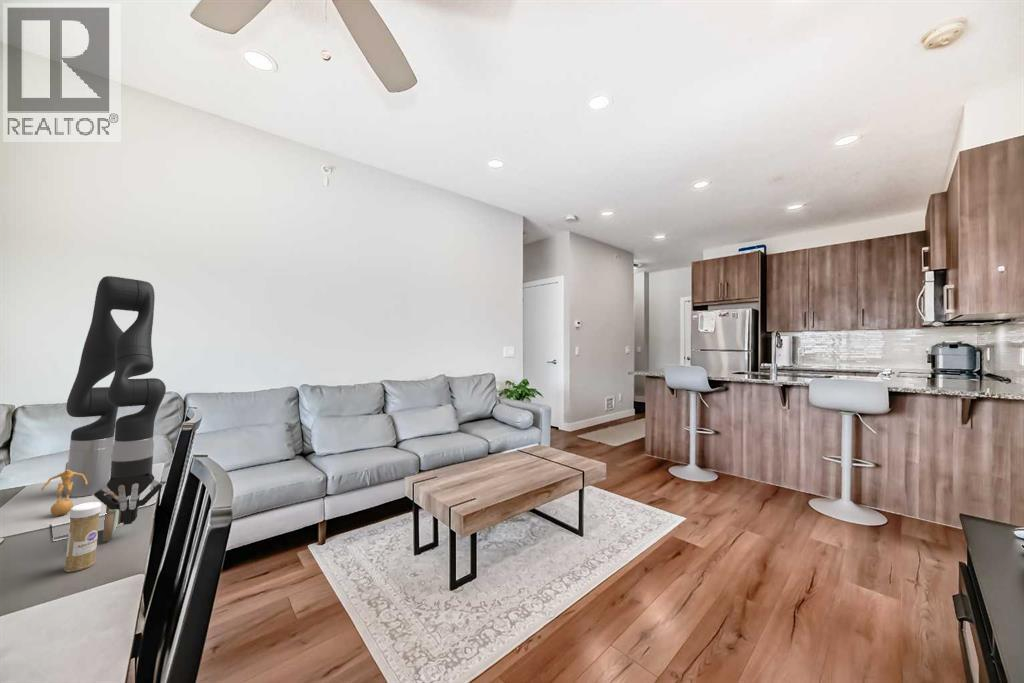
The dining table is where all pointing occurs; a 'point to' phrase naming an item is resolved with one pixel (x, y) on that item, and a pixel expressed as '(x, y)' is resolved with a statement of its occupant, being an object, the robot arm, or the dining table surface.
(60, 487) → the figurine
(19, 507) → the dining table surface
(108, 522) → the swing panel
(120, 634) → the dining table surface
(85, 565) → the sprinkles bottle
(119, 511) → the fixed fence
